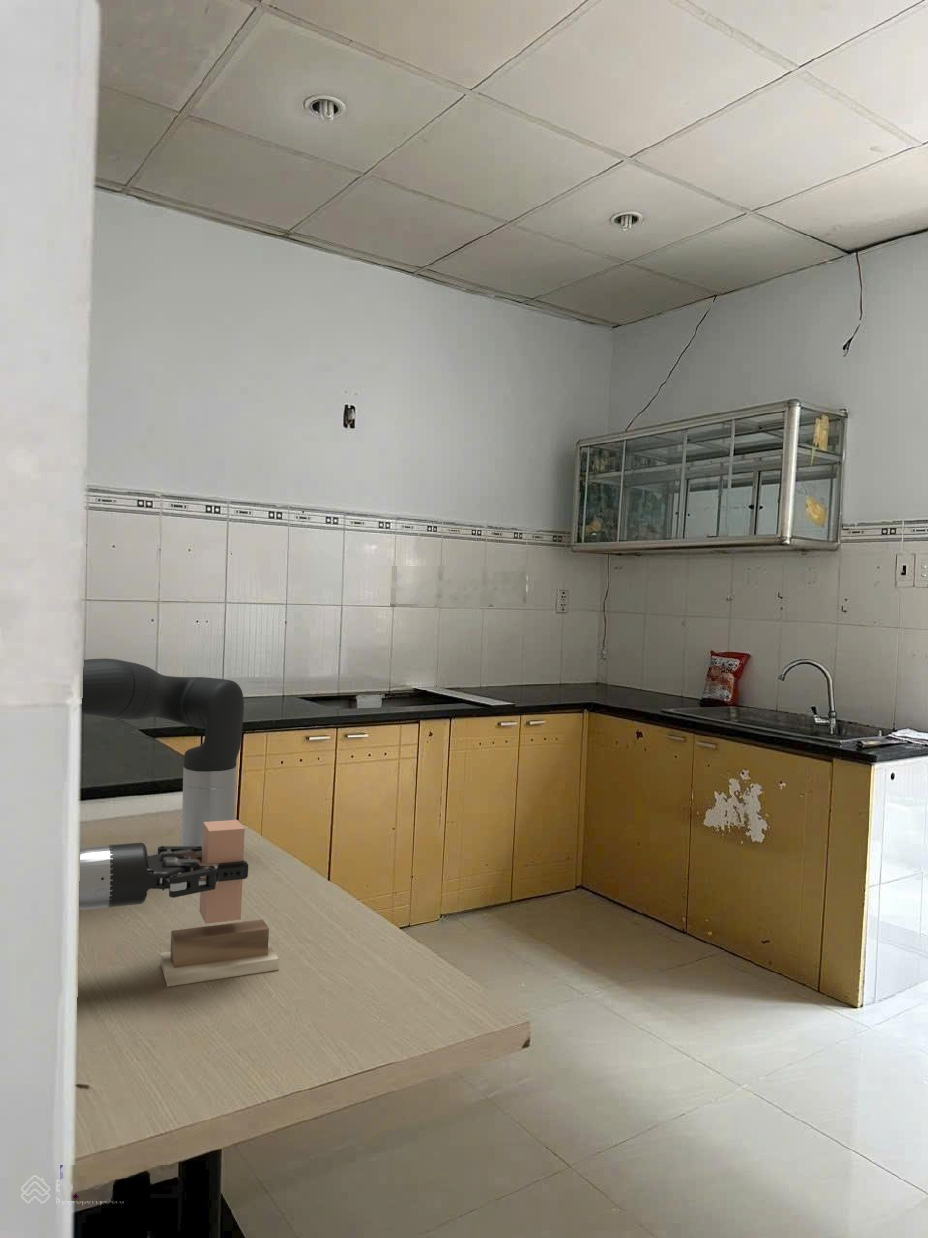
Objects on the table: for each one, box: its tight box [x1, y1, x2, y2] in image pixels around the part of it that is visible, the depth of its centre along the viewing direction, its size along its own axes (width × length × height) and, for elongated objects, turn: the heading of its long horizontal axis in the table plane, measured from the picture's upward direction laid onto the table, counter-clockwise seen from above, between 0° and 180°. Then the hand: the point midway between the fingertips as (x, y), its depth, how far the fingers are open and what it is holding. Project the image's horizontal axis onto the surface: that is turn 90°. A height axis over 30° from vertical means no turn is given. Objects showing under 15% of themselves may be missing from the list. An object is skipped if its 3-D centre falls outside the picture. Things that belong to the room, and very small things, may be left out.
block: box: [199, 819, 245, 925], centre depth 116 cm, size 4×4×12 cm
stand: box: [160, 918, 280, 987], centre depth 117 cm, size 7×14×5 cm, turn 116°
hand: (242, 863), depth 117 cm, fingers closed on block, 4 cm apart
